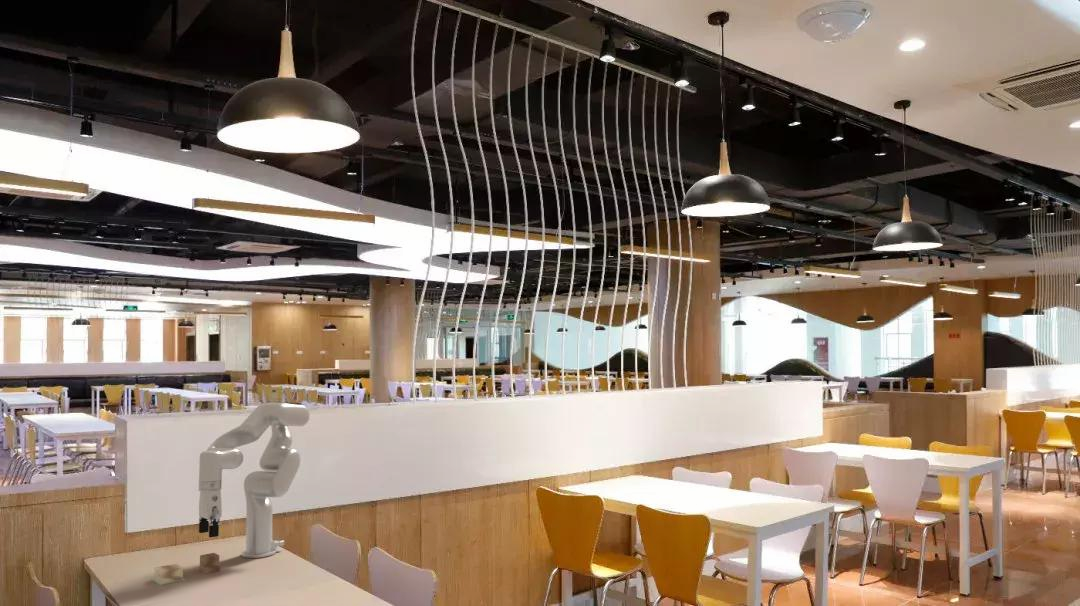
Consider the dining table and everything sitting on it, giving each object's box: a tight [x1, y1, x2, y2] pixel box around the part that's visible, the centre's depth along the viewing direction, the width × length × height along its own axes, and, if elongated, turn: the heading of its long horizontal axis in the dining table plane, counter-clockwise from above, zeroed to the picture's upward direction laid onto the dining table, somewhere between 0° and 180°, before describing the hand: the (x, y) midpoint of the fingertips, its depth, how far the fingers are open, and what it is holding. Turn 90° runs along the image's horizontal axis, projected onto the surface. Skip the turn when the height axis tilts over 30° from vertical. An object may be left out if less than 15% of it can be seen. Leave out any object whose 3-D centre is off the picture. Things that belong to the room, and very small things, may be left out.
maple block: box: [154, 563, 184, 585], centre depth 266 cm, size 7×7×4 cm
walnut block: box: [199, 552, 220, 574], centre depth 276 cm, size 5×5×6 cm
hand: (208, 534), depth 276 cm, fingers open, 9 cm apart
